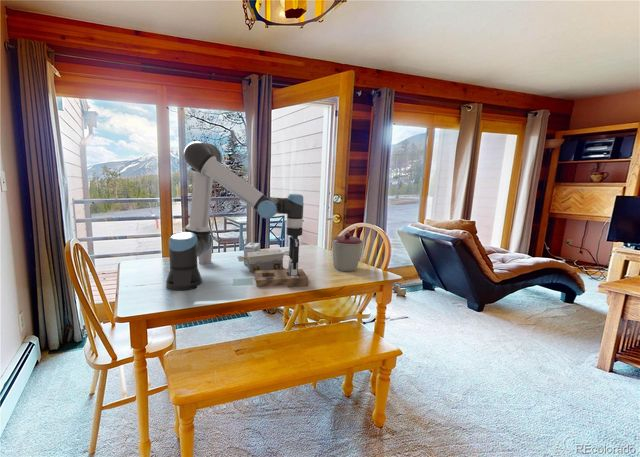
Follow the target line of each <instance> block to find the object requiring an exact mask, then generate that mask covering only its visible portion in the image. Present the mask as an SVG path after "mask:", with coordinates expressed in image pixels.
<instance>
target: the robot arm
mask: <svg viewBox="0 0 640 457" xmlns="http://www.w3.org/2000/svg"><path fill="white" fill-rule="evenodd" d="M183 157H184V160H185V162H186V164H187V165H188V166H189V167H190V171H191V173H193V182H192V192H191V204H190V212H189V214H190V215H189V223H188V224H187V225H186V226H185V230H184V231H183V232H178V233H174V234H172V235H171V236H170V237H169V238H168V254H169V257H168V258H169V272H168V274H167V277H166V281H165V285H166V286H165V287H166V288H167V289H169V290H172V291H189V290H194V289H196V288H197V287H198V286H199V285H201V284H202V282H203V279H202V278H203V277H202V276H201V273H200V270H199V267H198V266H199V265H198V264H199V263H198V256H199V255H201V254H203V253H205V252H206V251H207V250H208V249H209V248H210V247H211V245H212V246H213V243H212V238H213V236H212V234H211V231H212V230H211V227H210V226H209V219H210V212H211V210H210V209H211V201H212V193H213V192H212V190H213V185H214V184H213V183H214V182H216V183H217V184H219V185H220V186H222V187H223V188H225V189H226V190H227V191H228V192H230V193H232V194H233V195H234V196H236V198H238V199H240V201H242V202H244V203H246V204H247V205H248V206H250V207H251V208H253V209H254V210H255V211H256V212H257V213H258V215H259V216H260V217H261V218H262V219H271V218H273V217H274V216H276V215H277V214H278V215H279V214H281V215H286V226H287V227H286V235H287V236H289V238H288V239H289V246H288V247H289V249H288V251H289V260H292V262H291V263H292V264H291V276H295V275H297V263H298V264H299V257H300V255H299V254H300V252H299V251H300V239H299V237H301V236H302V235H303V222H305V221H304V219H303V218H304V196H303V194H300V193H299V194H298V193H289V194H287V196H286V197H274V196H273V197H272V196H266V195H265V194H264V193H263V192H261V191H259V189H258V188H255V187H254V186H253V185H251V184H250V183H249V182H248V181H246V180H245V179H243V178H242V177H240V176H239V175H238V174H237V173H235V172H234V171H232V170H230V168H228V167H226V165H223V163H222V162H223V155H222V151H221V150H220V148H218V147H217V146H216V145H214V144H212V143H209V142H201V141H192V142H190V143H188V144H187V145H186V147H185V148H184V150H183Z"/></svg>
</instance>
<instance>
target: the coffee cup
mask: <svg viewBox="0 0 640 457" xmlns="http://www.w3.org/2000/svg"><path fill="white" fill-rule="evenodd" d="M213 241H214V237H212V245H211V247H210V248H209V249H208V250H207V251H206V252H205V253H203V254H201V255H199V256H198V257H197V260H198V264H200V265H208V264H211V263H212V253H213V252H212V251H213Z"/></svg>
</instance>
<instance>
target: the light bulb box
mask: <svg viewBox="0 0 640 457" xmlns="http://www.w3.org/2000/svg"><path fill="white" fill-rule="evenodd" d="M257 251H261V243H260V242H249V243H247V244H246V245H244V246H243V257H244V256H247V253H248V252H257ZM243 265H244V266H248V263H247V260H245V261H243Z"/></svg>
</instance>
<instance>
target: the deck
mask: <svg viewBox="0 0 640 457" xmlns="http://www.w3.org/2000/svg"><path fill="white" fill-rule="evenodd" d="M253 285H254V282H253V278H252V277H248V278H247V277H246V278H245V277H244V278H233V279H232V287H233V286H253Z"/></svg>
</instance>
